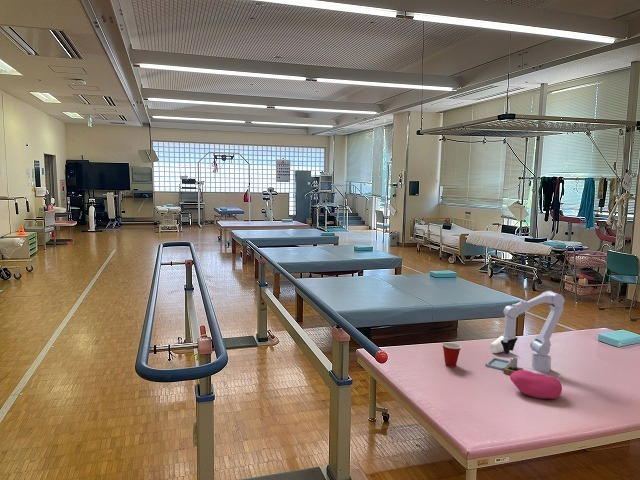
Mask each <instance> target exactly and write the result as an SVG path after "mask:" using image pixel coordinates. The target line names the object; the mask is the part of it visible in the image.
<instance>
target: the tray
mask: <svg viewBox="0 0 640 480" xmlns="http://www.w3.org/2000/svg"><path fill="white" fill-rule="evenodd" d="M510 361H511V360H506V359H502V358H497V357H492V358H491V359H490V360H488V362H486V363H485V367H488V368H492V369H496V370H498V371H499V370H500V371H503V370H504V368H505V367H506V366H507V365H510Z"/></svg>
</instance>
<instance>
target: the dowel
mask: <svg viewBox="0 0 640 480" xmlns="http://www.w3.org/2000/svg"><path fill="white" fill-rule="evenodd" d="M509 361H510V370H514V371H517V367H518V358H517V357H513V356H512V357H510V360H509Z"/></svg>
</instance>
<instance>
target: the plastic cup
mask: <svg viewBox="0 0 640 480" xmlns="http://www.w3.org/2000/svg"><path fill="white" fill-rule="evenodd" d="M441 345H442V350H443V358H444V363H445V366H446V367H449V368H454V367H456V366H457V363H458V360H459V359H458V358H459V355H460V351H461V349H462V345H461V344H458V343H455V342H443V343H441Z"/></svg>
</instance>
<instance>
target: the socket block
mask: <svg viewBox="0 0 640 480" xmlns="http://www.w3.org/2000/svg"><path fill="white" fill-rule="evenodd" d="M518 370H524V367H520V366H517V371H518ZM513 372H515V371H514V370H510V365H507V366H506V367H505V368H504V370H502V373H503V374H504V375H509V376H510V375H511V374H512V373H513Z"/></svg>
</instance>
